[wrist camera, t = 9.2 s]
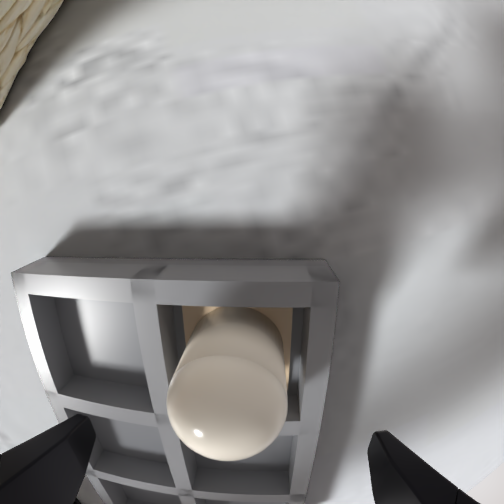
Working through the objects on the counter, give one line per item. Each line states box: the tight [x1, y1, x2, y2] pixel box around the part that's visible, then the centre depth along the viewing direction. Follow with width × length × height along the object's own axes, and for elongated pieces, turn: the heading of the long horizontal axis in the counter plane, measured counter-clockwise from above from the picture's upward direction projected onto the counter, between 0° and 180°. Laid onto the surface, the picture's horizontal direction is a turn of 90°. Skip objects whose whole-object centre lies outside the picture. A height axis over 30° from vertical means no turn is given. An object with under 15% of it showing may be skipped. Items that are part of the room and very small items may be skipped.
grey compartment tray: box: [11, 257, 339, 504], centre depth 16 cm, size 21×15×3 cm
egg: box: [166, 307, 288, 461], centre depth 11 cm, size 4×4×6 cm
